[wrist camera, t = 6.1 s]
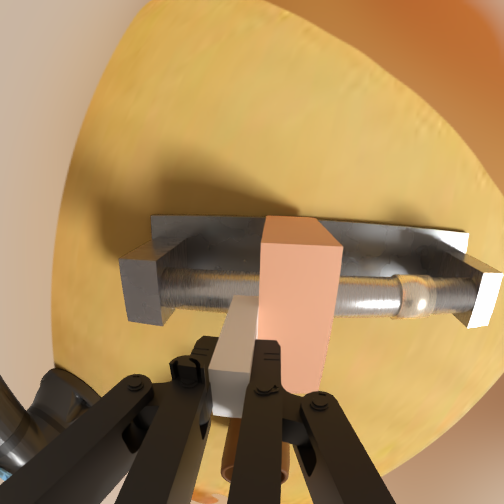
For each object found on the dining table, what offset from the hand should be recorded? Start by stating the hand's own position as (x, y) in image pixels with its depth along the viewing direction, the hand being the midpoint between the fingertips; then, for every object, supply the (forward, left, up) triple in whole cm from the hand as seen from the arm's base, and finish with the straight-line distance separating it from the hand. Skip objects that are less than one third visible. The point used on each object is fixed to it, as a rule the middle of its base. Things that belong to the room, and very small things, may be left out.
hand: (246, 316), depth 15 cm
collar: (+3, 0, -8) cm, 9 cm away
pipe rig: (+6, 0, -10) cm, 11 cm away
